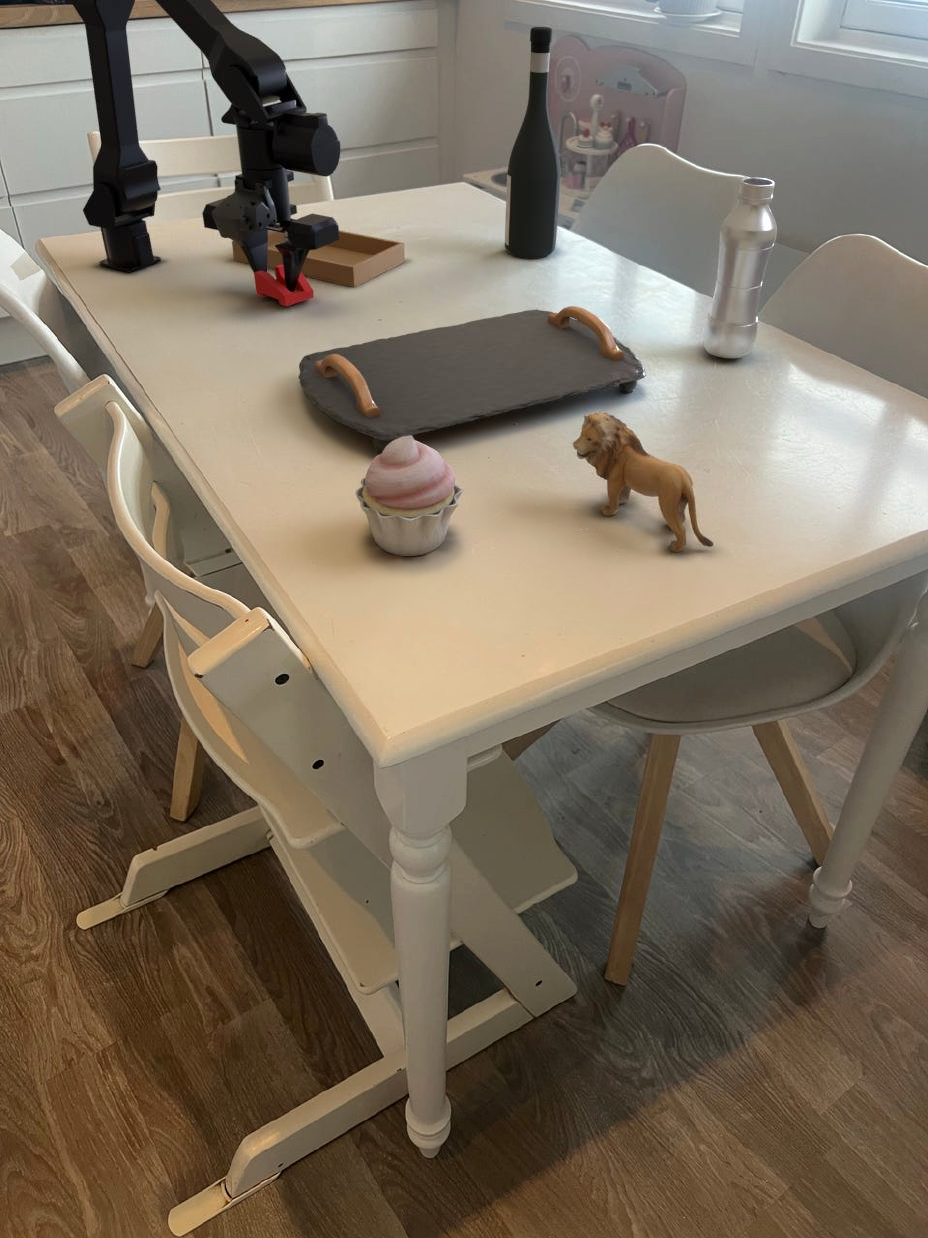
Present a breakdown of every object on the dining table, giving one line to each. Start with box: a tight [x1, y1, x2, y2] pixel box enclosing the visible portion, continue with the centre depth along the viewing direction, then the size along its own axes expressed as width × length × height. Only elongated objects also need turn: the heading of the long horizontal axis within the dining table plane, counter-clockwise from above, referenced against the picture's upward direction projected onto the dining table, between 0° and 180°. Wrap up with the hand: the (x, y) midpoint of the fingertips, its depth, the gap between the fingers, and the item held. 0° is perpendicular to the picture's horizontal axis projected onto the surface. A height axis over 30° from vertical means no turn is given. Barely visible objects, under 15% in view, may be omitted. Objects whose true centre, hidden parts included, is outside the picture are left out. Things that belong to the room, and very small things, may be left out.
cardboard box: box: [231, 223, 406, 288], centre depth 144 cm, size 22×13×3 cm, turn 60°
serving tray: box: [298, 305, 647, 455], centre depth 108 cm, size 39×23×6 cm, turn 119°
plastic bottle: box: [702, 177, 778, 359], centre depth 112 cm, size 6×7×20 cm
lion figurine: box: [572, 411, 714, 553], centre depth 85 cm, size 15×5×9 cm, turn 50°
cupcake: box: [354, 435, 465, 557], centre depth 82 cm, size 9×9×10 cm
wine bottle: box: [504, 26, 562, 259], centre depth 140 cm, size 8×8×30 cm
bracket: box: [253, 265, 315, 307], centre depth 130 cm, size 6×5×3 cm
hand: (276, 287), depth 131 cm, fingers closed on bracket, 4 cm apart
